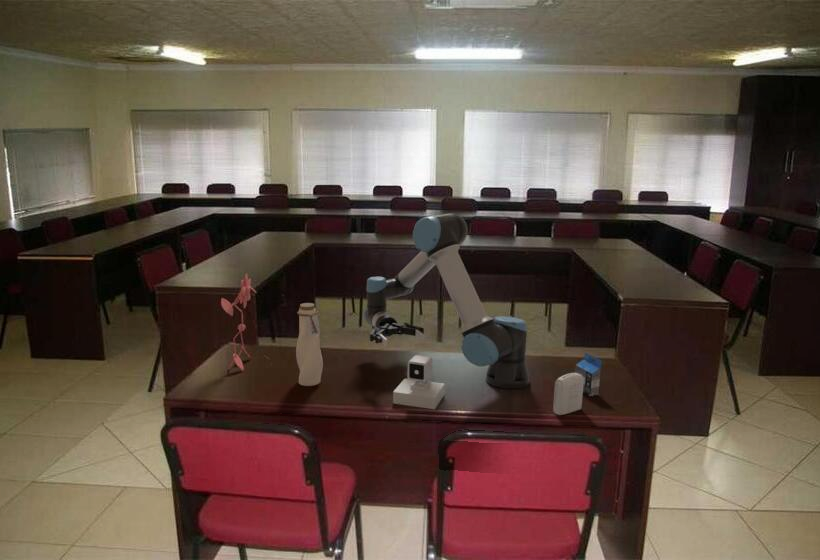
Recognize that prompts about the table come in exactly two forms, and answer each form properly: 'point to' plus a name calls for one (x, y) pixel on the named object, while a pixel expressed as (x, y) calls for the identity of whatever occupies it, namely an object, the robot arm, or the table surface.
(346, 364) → the table surface
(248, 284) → the figurine
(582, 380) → the photo printer
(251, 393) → the table surface
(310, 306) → the water bottle
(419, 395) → the plinth
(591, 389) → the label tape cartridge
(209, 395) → the table surface
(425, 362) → the security camera
